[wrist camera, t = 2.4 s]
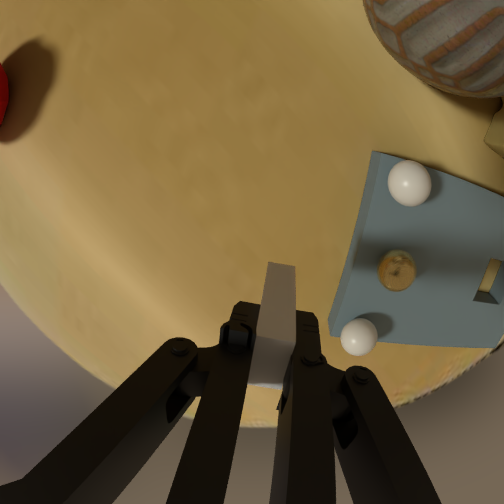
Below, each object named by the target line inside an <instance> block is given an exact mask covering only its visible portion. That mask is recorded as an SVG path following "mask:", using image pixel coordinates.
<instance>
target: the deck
mask: <svg viewBox="0 0 504 504" xmlns="http://www.w3.org/2000/svg"><path fill="white" fill-rule="evenodd" d="M401 161H404V159H401V158H397V157H394V156H391V155H387V154H383V153H380V152H375V151H372V154H371V160H370V165H369V170H368V174H367V179H366V184H365V188H364V193H363V197H362V202H361V206H360V210H359V214H358V218H357V222H356V226H355V230H354V234H353V238H352V241H351V245H350V249H349V252H348V256H347V260H346V263H345V267H344V270H343V273H342V277H341V280H340V283H339V287H338V290H337V293H336V296H335V299H334V302H333V306H332V309H331V312H330V315H329V318H328V325H329V331H330V336H334V337H341V332H342V330H343V328H344V326H345V325H346V324H347V323H348V322H350V321H351V320H353V319H357V318H363V319H367V320H369V321H370V322H372V323H373V325H374V326H375V328H376V330H377V334H378V338H377V342H387V343H399V344H411V345H426V346H443V347H468V348H495V347H496V346H497V344H498V342H499V341H500V339H501V337H502V336H503V334H504V197H502V196H500V195H498V194H496V193H493V192H491V191H489V190H487V189H484V188H482V187H480V186H477V185H475V184H472V183H470V182H467V181H465V180H462V179H460V178H457V177H454V176H452V175H449V174H446V173H443V172H441V171H438V170H435V169H432V168H429V167H426V166H424V167H425V168H426V170H427V171H428V173H429V175H430V178H431V192H430V194H429V196H428V198H427V199H426V200H425V201H424V202H423V203H422V204H420V205H418V206H413V207H409V206H404V205H402V204H400V203H398V202H397V201H396V200H395V199H394V198H393V197H392V195H391V193H390V191H389V188H388V176H389V173H390V171H391V169H392V168H393V167H394V166H395V165H396V164H397V163H399V162H401ZM422 166H423V165H422ZM394 249H400V250H404V251H406V252H408V253H409V254H410V255H411V256H412V257H413V258H414V260H415V263H416V266H417V275H416V278H415V281H414V282H413V284H412V285H411V286H410V287H409V288H408V289H406V290H404V291H401V292H392V291H389V290H387V289H385V288H384V287H383V286H382V285H381V283H380V282H379V280H378V277H377V265H378V262H379V260H380V258H381V257H382V256H383V255H384V254H385V253H386V252H388V251H390V250H394ZM490 258H493V259H497V260H500V261H502V263H501V266H500V268H499V271H498V273H497V276H496V278H495V280H494V283H493V285H492V287H491V290H490V292H489V293H485V292H480V291H477V290H478V288H479V286H480V283H481V281H482V279H483V276H484V274H485V271H486V269H487V266H488V264H489V261H490Z"/></svg>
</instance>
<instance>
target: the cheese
mask: <svg viewBox="0 0 504 504" xmlns="http://www.w3.org/2000/svg"><path fill="white" fill-rule="evenodd" d="M501 99H502V102H503V107H502V109H501V110H500V111H499V112H496V113H495V114H494V117H493V119H492V122H491V125H490V128H489V130H488V132H487V134H486V137H485V139H484V142H485V143H486V144H487V145H488V146H489V147H490V148H491V149H492V150H494V151H495V152H496V153H498V154H499V155H500V156H501V157H503V158H504V97H501Z"/></svg>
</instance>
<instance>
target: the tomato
mask: <svg viewBox="0 0 504 504" xmlns="http://www.w3.org/2000/svg"><path fill="white" fill-rule="evenodd" d="M8 102H9V88H8V77H7V75H6V73H5V71H4V69H3V67H2V65H1V63H0V125H1V124H2V121H3V117H4V114H5V111H6V108H7V105H8Z"/></svg>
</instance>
